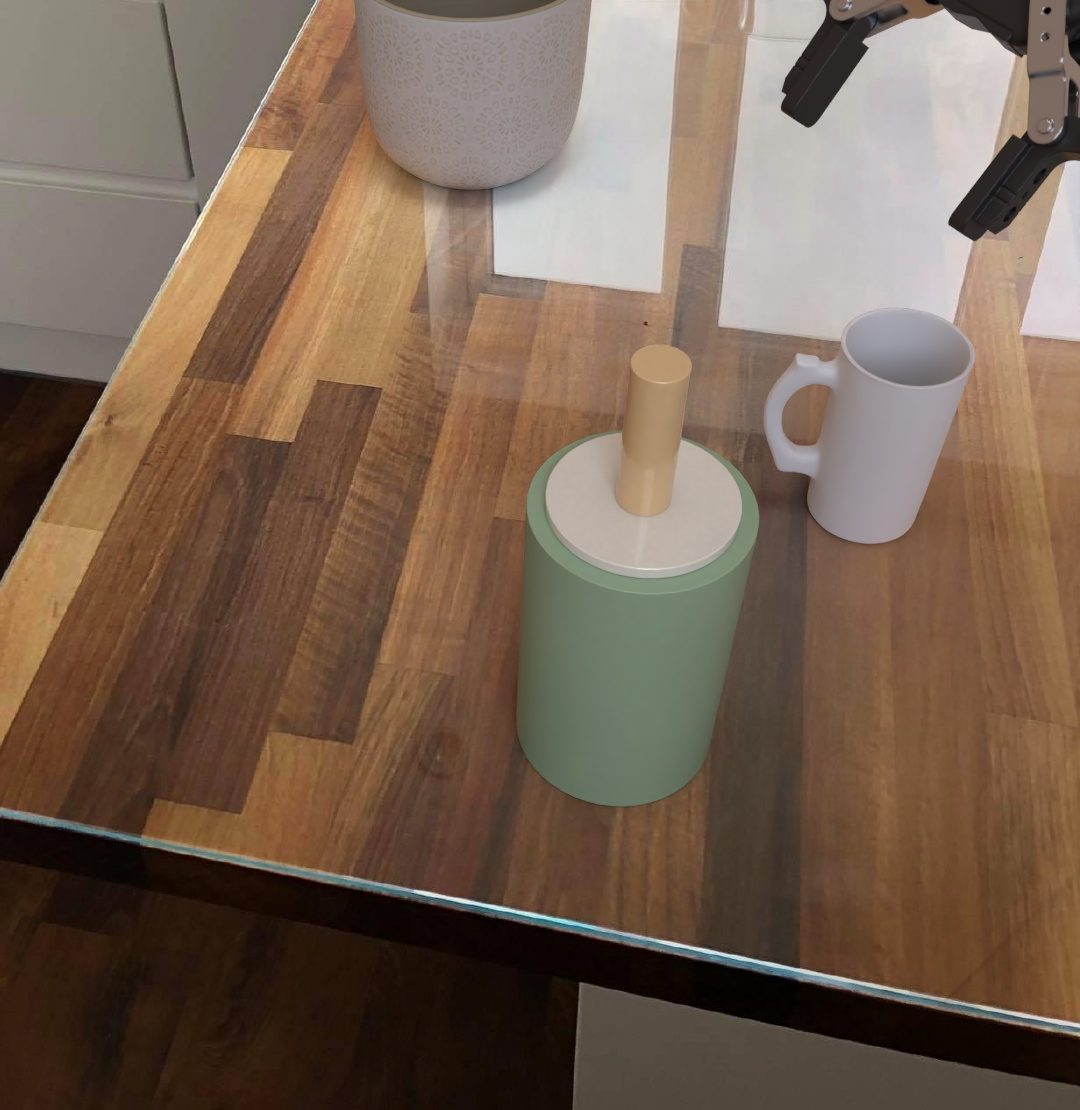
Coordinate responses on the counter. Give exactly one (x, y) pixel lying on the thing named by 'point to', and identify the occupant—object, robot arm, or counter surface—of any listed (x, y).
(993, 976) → the counter surface
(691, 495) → the lid
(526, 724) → the cylinder
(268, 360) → the counter surface
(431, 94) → the planter
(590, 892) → the counter surface
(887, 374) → the mug
